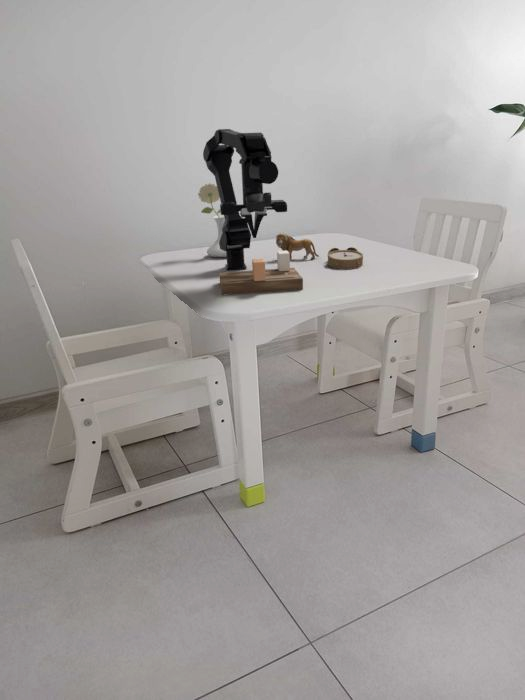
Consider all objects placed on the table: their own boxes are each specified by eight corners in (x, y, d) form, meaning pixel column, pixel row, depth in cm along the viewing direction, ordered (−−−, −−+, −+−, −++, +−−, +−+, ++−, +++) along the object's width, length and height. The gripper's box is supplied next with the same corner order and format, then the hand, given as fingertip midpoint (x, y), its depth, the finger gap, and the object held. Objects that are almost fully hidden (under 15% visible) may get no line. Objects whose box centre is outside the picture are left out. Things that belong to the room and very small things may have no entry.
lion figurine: (277, 261, 171) (276, 234, 167) (275, 258, 175) (275, 232, 172) (320, 259, 171) (320, 232, 168) (317, 256, 176) (317, 230, 173)
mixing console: (220, 282, 148) (219, 272, 146) (294, 277, 150) (294, 267, 149) (222, 294, 136) (221, 283, 134) (302, 289, 138) (302, 278, 137)
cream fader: (277, 268, 148) (276, 251, 146) (287, 267, 148) (287, 250, 146) (279, 271, 144) (279, 253, 143) (289, 270, 145) (289, 253, 143)
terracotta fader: (252, 277, 139) (252, 259, 137) (263, 276, 139) (263, 258, 137) (254, 281, 135) (253, 262, 133) (265, 280, 136) (264, 261, 134)
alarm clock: (329, 260, 157) (325, 243, 169) (329, 275, 159) (324, 257, 172) (366, 259, 156) (358, 242, 169) (365, 274, 159) (357, 256, 172)
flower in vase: (241, 252, 186) (237, 181, 177) (235, 259, 176) (230, 184, 167) (206, 252, 188) (201, 182, 179) (198, 259, 178) (192, 185, 168)
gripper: (220, 185, 133) (223, 245, 139) (290, 182, 135) (290, 241, 141) (218, 182, 143) (221, 237, 149) (283, 179, 145) (284, 234, 151)
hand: (254, 237), depth 147 cm, fingers closed
